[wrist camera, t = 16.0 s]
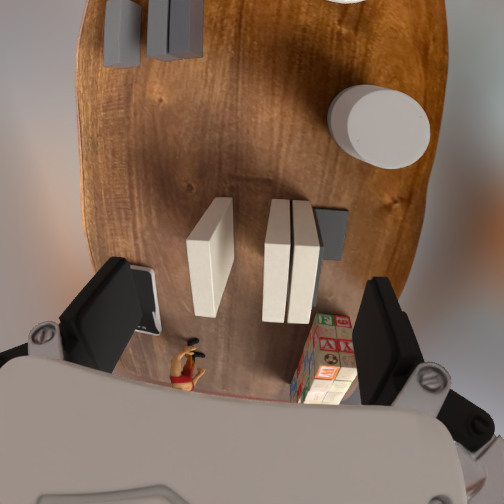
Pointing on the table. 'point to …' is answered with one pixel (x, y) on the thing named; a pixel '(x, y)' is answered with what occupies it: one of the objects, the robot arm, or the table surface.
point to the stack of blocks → (325, 362)
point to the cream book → (211, 256)
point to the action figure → (185, 368)
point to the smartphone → (147, 300)
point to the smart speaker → (379, 126)
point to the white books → (298, 257)
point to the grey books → (153, 31)
